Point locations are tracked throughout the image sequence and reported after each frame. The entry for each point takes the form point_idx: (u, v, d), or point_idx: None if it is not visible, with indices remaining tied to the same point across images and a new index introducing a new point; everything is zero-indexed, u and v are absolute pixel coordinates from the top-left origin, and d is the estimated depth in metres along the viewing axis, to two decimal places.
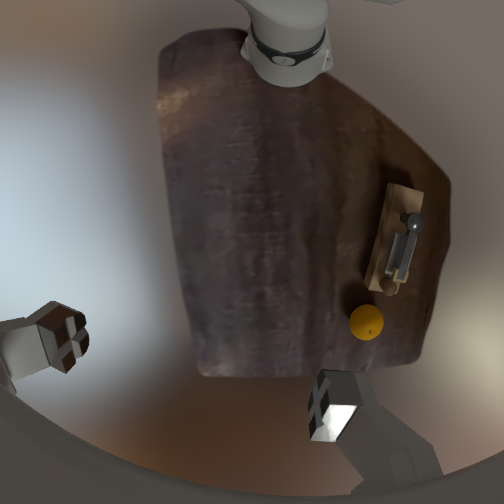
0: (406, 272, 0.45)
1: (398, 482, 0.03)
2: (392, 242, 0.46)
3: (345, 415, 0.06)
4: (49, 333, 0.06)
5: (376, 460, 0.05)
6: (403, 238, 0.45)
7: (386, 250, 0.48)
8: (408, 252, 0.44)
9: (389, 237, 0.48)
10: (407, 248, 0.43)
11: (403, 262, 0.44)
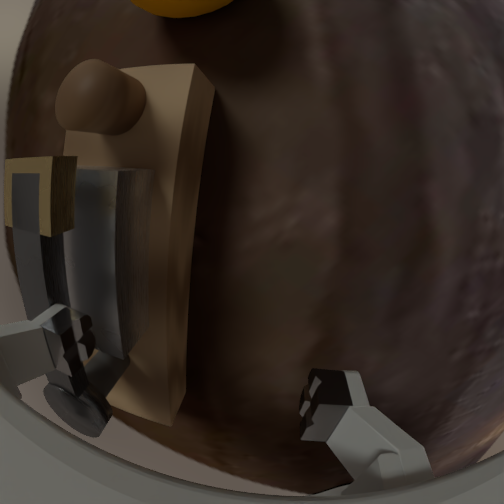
0: (9, 217, 0.06)
1: (386, 484, 0.03)
2: (124, 319, 0.10)
3: (335, 415, 0.06)
4: (56, 336, 0.06)
5: (366, 461, 0.05)
6: None
7: (140, 260, 0.11)
8: None
9: (143, 309, 0.12)
10: None
11: (35, 273, 0.07)
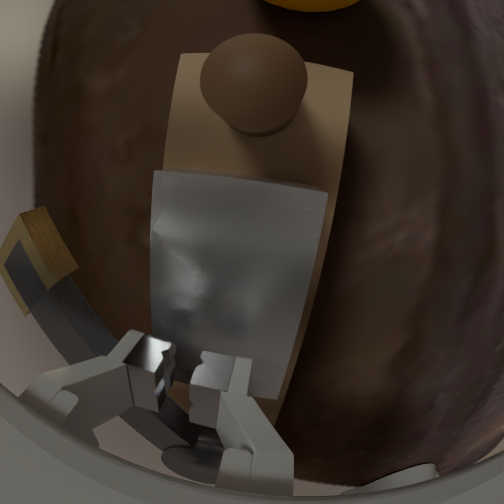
0: (23, 304, 0.07)
1: (221, 482, 0.03)
2: None
3: (211, 399, 0.06)
4: (146, 373, 0.06)
5: None
6: None
7: None
8: None
9: None
10: None
11: (68, 335, 0.07)
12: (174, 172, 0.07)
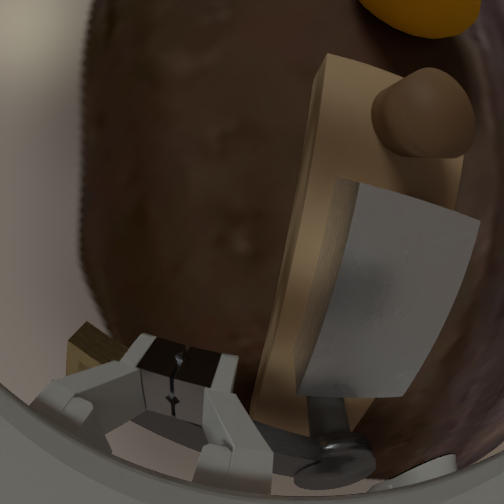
0: None
1: (198, 478, 0.03)
2: None
3: (196, 395, 0.06)
4: (161, 378, 0.06)
5: None
6: (372, 387, 0.09)
7: None
8: None
9: None
10: None
11: (164, 419, 0.07)
12: (379, 188, 0.07)
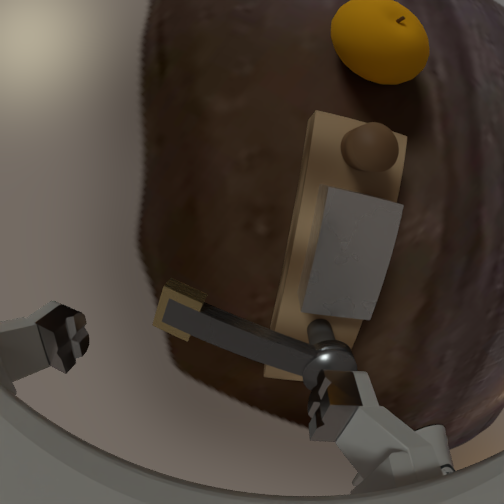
0: (184, 334, 0.15)
1: (398, 482, 0.03)
2: None
3: (345, 415, 0.06)
4: (49, 333, 0.06)
5: (376, 460, 0.05)
6: (347, 309, 0.17)
7: None
8: (249, 347, 0.15)
9: None
10: (262, 345, 0.15)
11: (220, 328, 0.15)
12: (339, 189, 0.15)
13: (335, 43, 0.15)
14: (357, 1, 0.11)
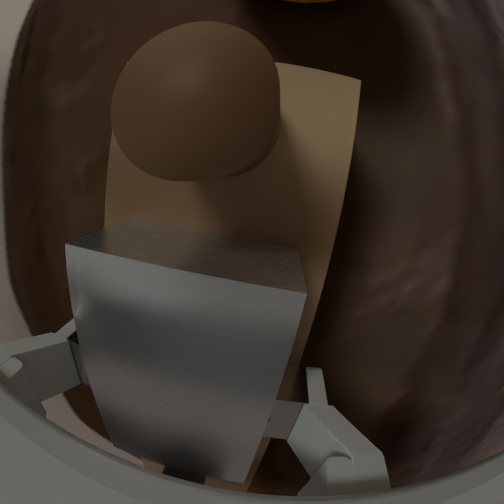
0: None
1: (332, 490, 0.03)
2: None
3: (291, 412, 0.06)
4: None
5: (323, 463, 0.05)
6: (190, 466, 0.07)
7: None
8: None
9: None
10: None
11: None
12: (87, 249, 0.05)
13: None
14: None
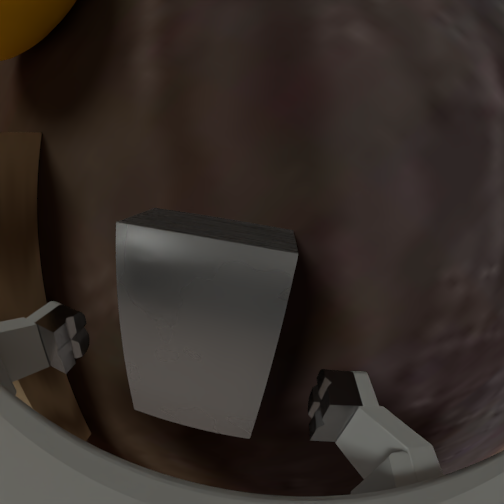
0: None
1: (398, 482, 0.03)
2: None
3: (345, 415, 0.06)
4: (49, 333, 0.06)
5: (376, 460, 0.05)
6: (203, 421, 0.09)
7: None
8: None
9: None
10: None
11: None
12: (135, 225, 0.07)
13: None
14: None
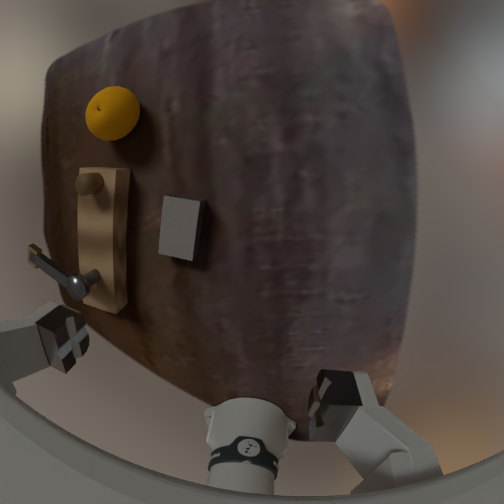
0: (34, 265, 0.31)
1: (398, 482, 0.03)
2: (194, 246, 0.35)
3: (345, 415, 0.06)
4: (49, 333, 0.06)
5: (376, 460, 0.05)
6: (179, 253, 0.36)
7: (200, 228, 0.36)
8: (49, 271, 0.31)
9: (198, 246, 0.37)
10: (52, 270, 0.31)
11: (41, 262, 0.31)
12: (168, 196, 0.33)
13: None
14: (89, 102, 0.27)
